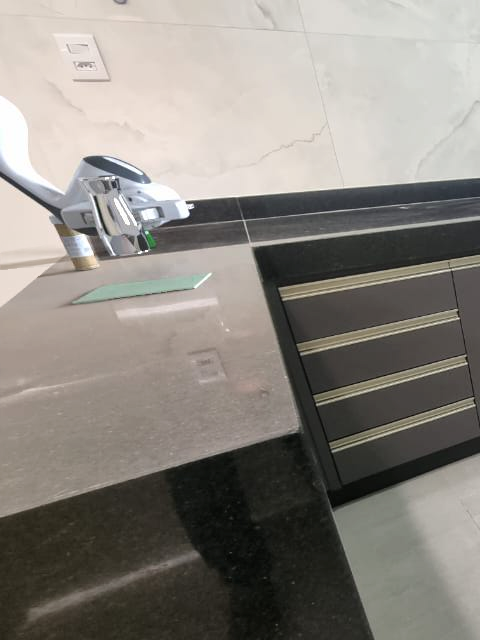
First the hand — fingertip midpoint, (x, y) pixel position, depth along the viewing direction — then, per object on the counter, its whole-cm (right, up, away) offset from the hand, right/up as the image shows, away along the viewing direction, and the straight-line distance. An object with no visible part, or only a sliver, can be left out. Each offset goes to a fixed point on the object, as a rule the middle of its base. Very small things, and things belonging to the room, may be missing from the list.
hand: (114, 218), depth 107 cm
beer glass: (0, +8, -3) cm, 8 cm away
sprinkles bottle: (-33, -6, +27) cm, 43 cm away
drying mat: (0, -13, +7) cm, 15 cm away
